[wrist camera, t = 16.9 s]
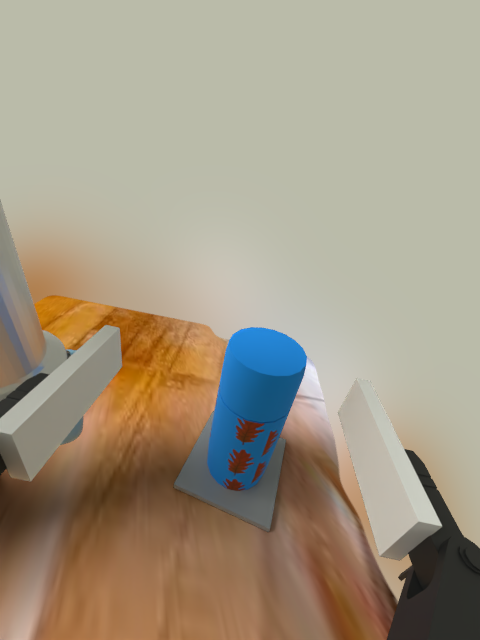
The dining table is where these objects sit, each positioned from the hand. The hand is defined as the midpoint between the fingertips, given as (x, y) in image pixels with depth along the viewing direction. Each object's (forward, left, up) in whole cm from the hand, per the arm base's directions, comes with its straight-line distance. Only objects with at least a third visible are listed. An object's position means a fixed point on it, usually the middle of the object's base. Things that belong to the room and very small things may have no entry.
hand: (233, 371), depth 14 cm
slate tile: (+1, +18, -36) cm, 40 cm away
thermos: (0, +17, -35) cm, 39 cm away
